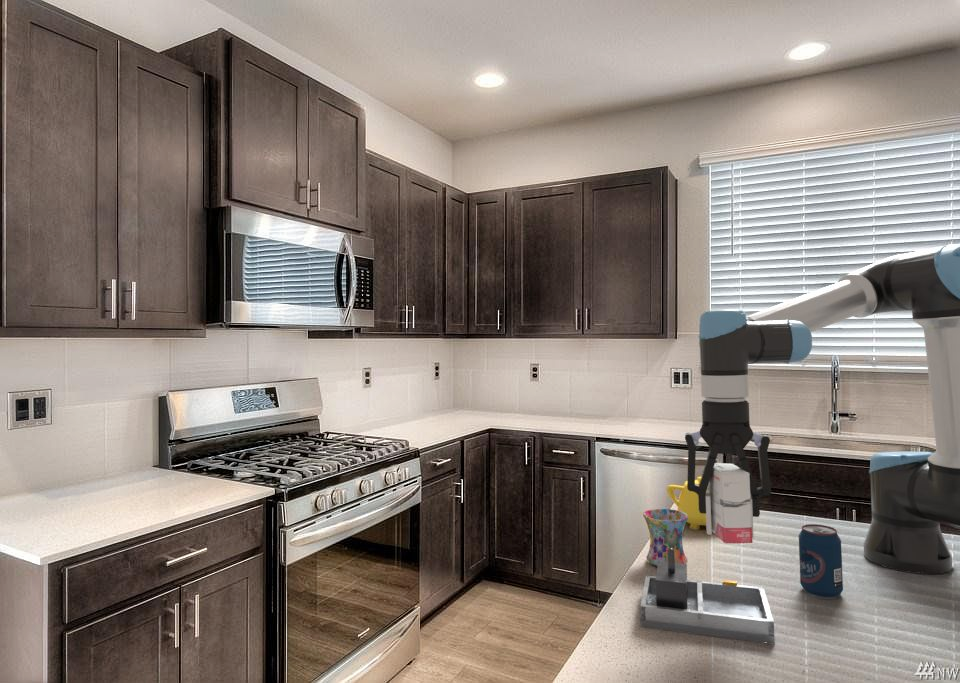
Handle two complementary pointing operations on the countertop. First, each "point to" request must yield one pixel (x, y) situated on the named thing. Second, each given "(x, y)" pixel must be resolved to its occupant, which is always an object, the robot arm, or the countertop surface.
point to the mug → (665, 534)
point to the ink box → (730, 503)
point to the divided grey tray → (704, 605)
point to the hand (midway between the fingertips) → (729, 533)
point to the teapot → (688, 504)
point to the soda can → (820, 561)
